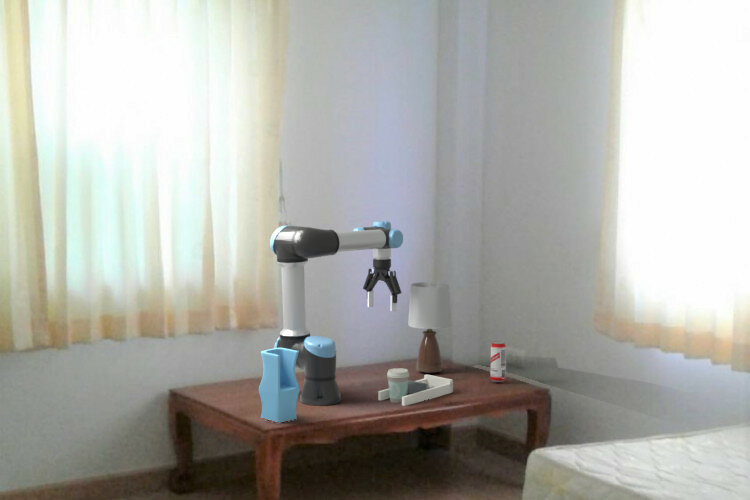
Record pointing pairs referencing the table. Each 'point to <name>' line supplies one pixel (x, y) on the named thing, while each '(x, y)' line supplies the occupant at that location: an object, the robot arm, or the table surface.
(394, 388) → the coffee cup
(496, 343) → the beer can
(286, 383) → the vase
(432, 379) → the lane
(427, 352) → the lamp
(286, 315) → the robot arm
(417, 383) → the block
